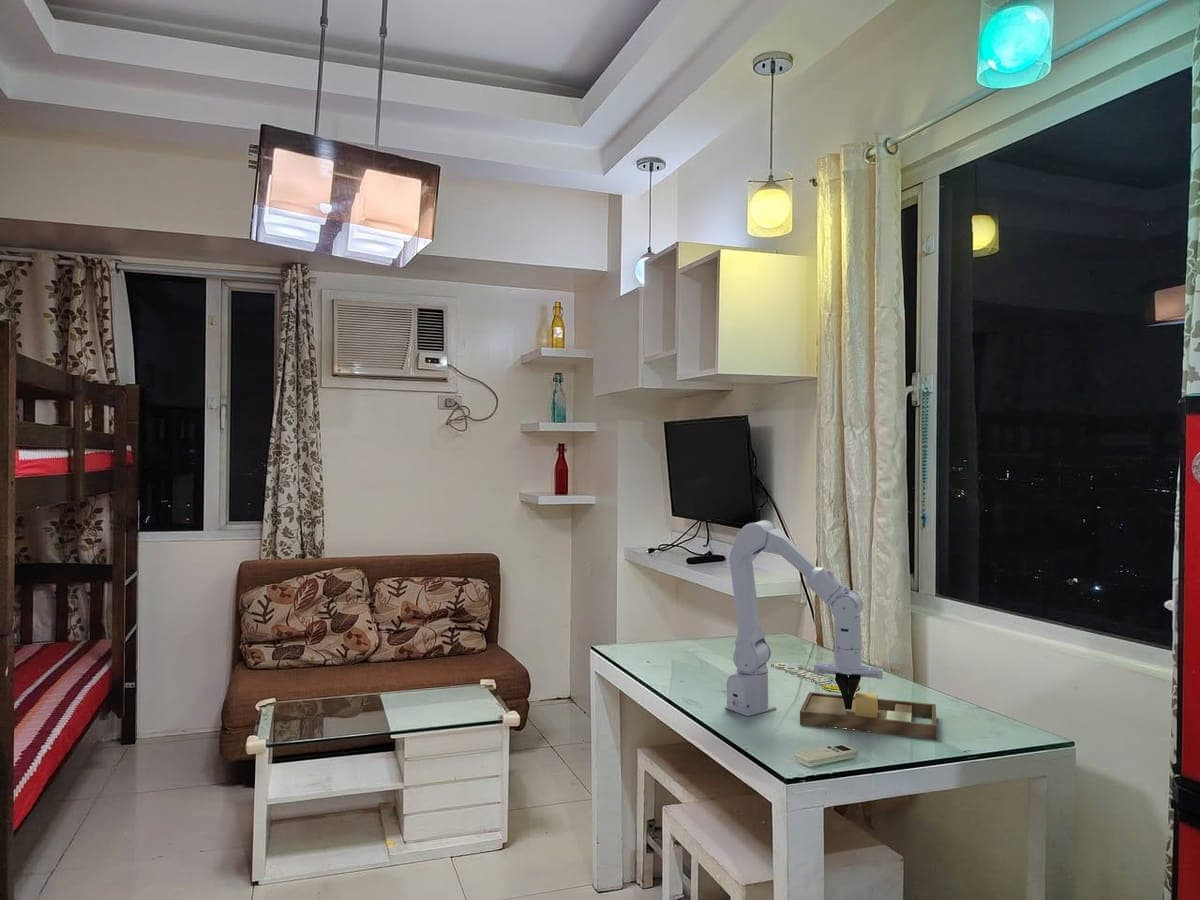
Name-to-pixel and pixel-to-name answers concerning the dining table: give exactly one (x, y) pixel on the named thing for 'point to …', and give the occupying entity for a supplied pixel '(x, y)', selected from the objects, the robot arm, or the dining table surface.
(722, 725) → the dining table surface
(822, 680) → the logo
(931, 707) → the tray
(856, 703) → the block
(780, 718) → the dining table surface
